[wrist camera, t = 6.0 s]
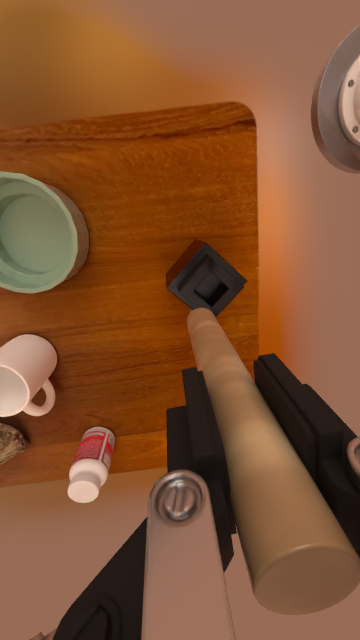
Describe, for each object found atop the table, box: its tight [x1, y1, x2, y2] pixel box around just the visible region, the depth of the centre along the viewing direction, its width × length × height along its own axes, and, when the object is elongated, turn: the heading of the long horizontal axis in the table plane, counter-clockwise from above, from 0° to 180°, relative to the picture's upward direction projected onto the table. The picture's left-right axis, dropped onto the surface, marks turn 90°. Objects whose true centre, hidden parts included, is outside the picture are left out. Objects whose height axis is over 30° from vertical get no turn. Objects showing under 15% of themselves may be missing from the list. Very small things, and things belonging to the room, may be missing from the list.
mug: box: [0, 334, 57, 417], centre depth 40 cm, size 12×8×10 cm
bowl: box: [0, 172, 89, 293], centre depth 35 cm, size 14×14×6 cm
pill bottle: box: [68, 427, 115, 503], centre depth 45 cm, size 6×6×11 cm
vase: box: [166, 239, 247, 317], centre depth 35 cm, size 7×7×13 cm
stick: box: [186, 308, 360, 615], centre depth 11 cm, size 2×2×14 cm
